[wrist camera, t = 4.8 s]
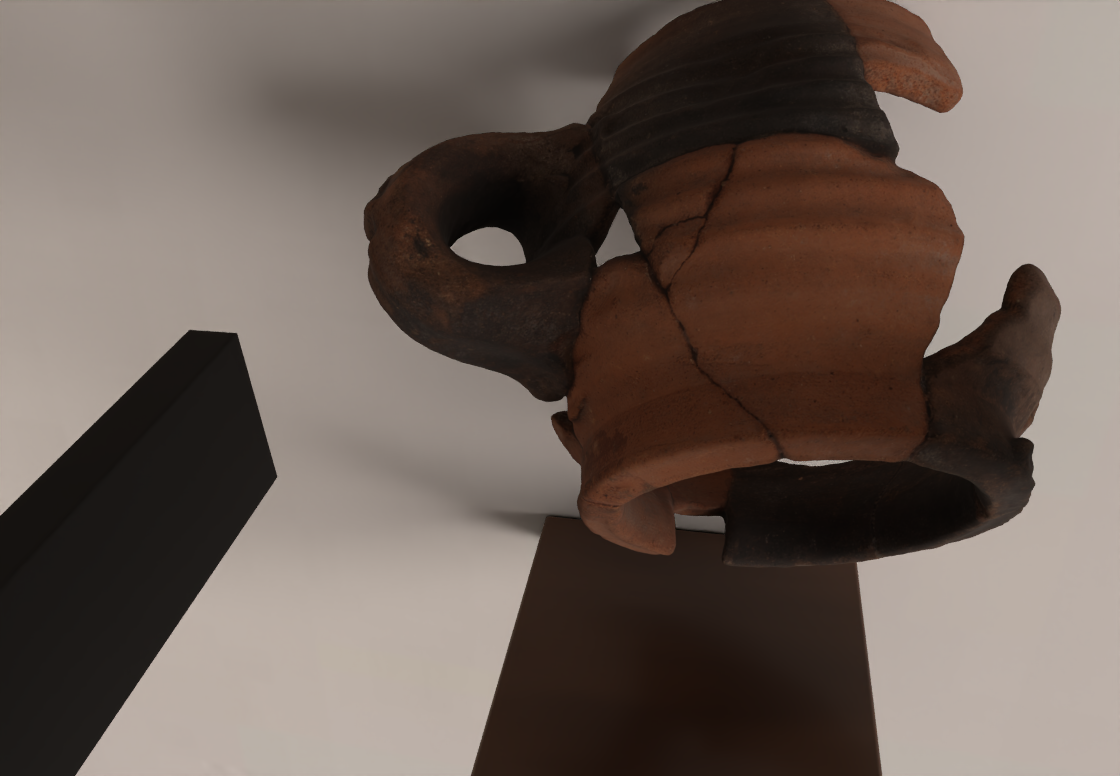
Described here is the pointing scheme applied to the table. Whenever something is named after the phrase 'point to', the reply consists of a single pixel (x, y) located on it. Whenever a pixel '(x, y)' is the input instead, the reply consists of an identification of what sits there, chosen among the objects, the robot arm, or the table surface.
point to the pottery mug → (737, 292)
